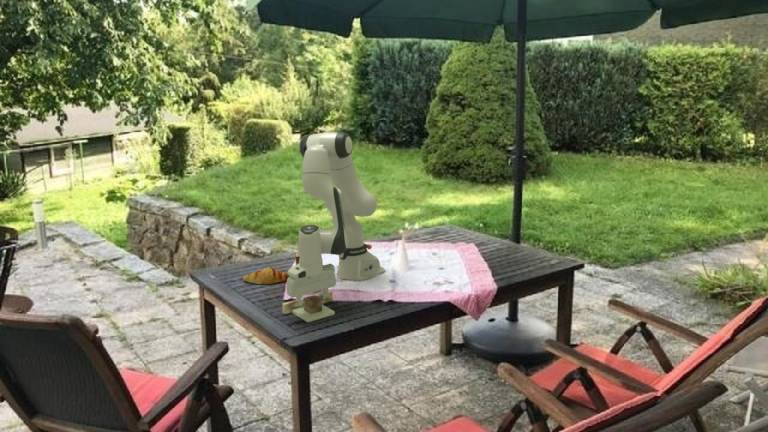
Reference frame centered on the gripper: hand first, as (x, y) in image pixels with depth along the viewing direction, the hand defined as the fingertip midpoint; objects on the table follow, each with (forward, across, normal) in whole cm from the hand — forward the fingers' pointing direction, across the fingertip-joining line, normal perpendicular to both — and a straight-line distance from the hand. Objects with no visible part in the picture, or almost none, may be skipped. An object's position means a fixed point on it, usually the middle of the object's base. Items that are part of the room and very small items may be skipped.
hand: (312, 302), depth 247 cm
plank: (+5, -2, -7) cm, 9 cm away
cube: (+3, 0, 0) cm, 3 cm away
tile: (+5, 0, 0) cm, 5 cm away
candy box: (+5, -12, -24) cm, 27 cm away
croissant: (+5, -3, -44) cm, 45 cm away
